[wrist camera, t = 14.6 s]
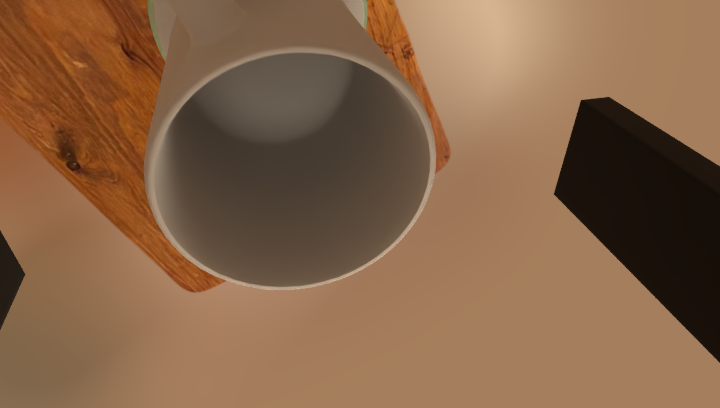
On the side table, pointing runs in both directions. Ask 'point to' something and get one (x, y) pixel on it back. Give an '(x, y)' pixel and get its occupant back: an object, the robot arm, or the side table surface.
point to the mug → (284, 143)
